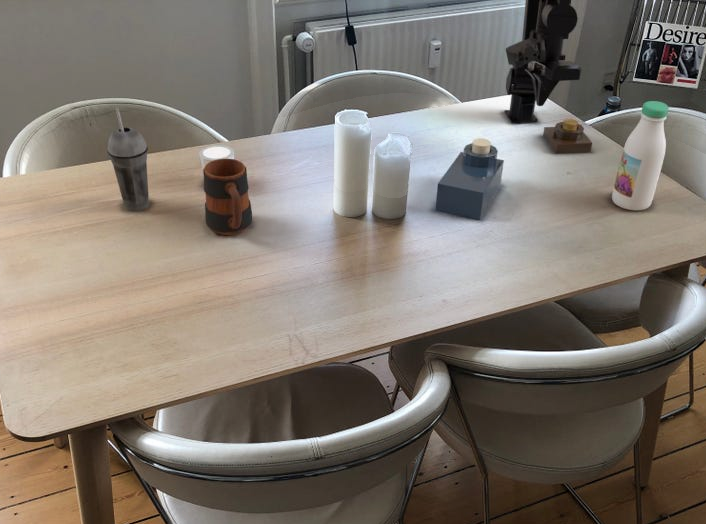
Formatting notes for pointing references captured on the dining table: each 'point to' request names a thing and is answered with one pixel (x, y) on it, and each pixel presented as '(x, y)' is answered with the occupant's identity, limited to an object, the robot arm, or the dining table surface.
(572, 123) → the brass button
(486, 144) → the white short cylinder
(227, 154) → the shot glass
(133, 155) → the beverage cup
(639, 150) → the milk bottle
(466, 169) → the blue push button box
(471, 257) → the dining table surface
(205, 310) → the dining table surface
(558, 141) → the switch block
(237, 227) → the mug
